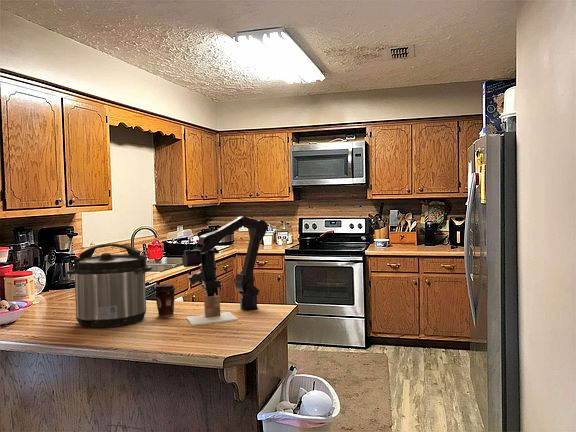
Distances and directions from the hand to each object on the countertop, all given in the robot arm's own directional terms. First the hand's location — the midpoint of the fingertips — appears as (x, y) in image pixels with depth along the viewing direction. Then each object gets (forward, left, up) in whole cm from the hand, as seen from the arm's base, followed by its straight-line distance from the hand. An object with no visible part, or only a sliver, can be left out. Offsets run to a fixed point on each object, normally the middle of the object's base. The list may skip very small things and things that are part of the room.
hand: (209, 302), depth 198 cm
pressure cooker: (+38, -12, -6) cm, 40 cm away
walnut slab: (0, +5, -5) cm, 7 cm away
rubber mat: (+1, +7, -6) cm, 9 cm away
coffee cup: (+17, -10, -6) cm, 21 cm away
